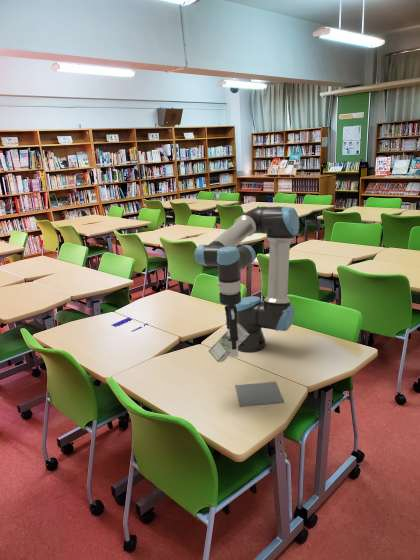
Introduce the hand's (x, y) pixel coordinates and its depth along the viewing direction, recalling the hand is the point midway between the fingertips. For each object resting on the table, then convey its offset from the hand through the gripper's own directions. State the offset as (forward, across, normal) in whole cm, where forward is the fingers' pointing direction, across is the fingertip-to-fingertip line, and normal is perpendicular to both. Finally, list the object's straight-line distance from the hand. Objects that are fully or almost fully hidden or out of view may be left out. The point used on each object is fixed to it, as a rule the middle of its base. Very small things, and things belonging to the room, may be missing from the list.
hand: (232, 350), depth 152 cm
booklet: (+19, -77, -46) cm, 92 cm away
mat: (+19, 0, +9) cm, 21 cm away
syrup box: (+2, 0, -7) cm, 7 cm away
